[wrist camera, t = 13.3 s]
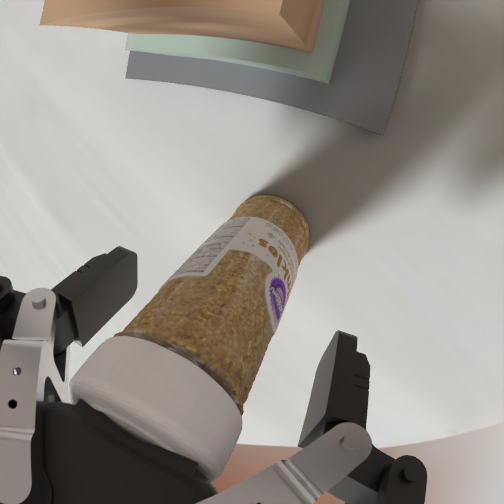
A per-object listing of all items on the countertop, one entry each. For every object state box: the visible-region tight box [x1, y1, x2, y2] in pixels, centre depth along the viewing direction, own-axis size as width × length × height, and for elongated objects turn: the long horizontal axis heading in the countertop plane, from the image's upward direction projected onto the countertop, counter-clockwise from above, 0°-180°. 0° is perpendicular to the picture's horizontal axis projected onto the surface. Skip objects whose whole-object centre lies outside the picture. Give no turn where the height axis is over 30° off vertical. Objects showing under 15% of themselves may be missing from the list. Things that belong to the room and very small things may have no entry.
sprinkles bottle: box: [68, 195, 310, 482], centre depth 12 cm, size 5×4×14 cm
